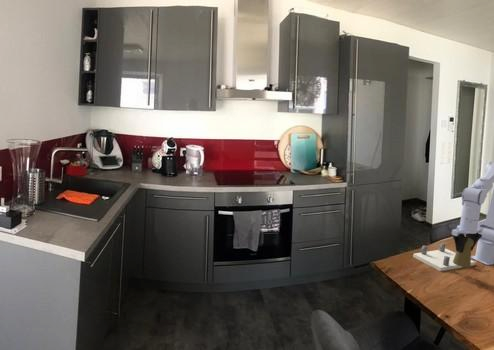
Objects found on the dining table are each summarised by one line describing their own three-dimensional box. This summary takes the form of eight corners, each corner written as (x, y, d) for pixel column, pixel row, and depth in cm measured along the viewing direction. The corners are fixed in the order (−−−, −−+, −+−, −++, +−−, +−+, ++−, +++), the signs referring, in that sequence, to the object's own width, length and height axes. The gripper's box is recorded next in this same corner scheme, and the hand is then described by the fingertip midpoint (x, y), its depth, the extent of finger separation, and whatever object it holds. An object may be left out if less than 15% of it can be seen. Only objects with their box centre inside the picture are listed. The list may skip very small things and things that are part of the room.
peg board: (445, 251, 155) (447, 241, 154) (474, 265, 142) (476, 254, 141) (413, 256, 148) (414, 246, 147) (440, 271, 135) (442, 259, 134)
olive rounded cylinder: (473, 268, 128) (479, 241, 126) (457, 266, 129) (462, 239, 127) (465, 261, 134) (470, 235, 132) (450, 259, 135) (454, 234, 133)
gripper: (472, 213, 134) (467, 244, 137) (446, 216, 129) (441, 248, 132) (490, 219, 128) (484, 251, 130) (464, 222, 123) (458, 256, 125)
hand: (464, 250), depth 131 cm, fingers closed on olive rounded cylinder, 5 cm apart
